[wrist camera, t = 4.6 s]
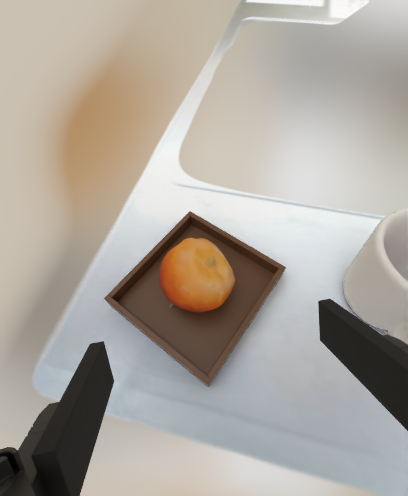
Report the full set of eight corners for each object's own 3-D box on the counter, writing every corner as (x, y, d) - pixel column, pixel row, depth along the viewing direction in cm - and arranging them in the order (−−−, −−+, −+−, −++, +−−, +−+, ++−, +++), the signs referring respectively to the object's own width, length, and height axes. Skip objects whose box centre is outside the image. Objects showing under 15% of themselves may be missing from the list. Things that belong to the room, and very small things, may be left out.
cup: (437, 392, 26) (554, 383, 17) (328, 363, 28) (384, 341, 19) (417, 269, 33) (493, 218, 24) (331, 251, 35) (373, 197, 26)
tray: (208, 387, 27) (208, 385, 25) (110, 305, 31) (103, 298, 29) (281, 276, 33) (286, 267, 31) (190, 221, 37) (189, 211, 35)
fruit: (144, 259, 32) (172, 220, 26) (201, 267, 36) (235, 235, 30) (146, 326, 28) (180, 296, 22) (210, 327, 32) (252, 302, 26)
